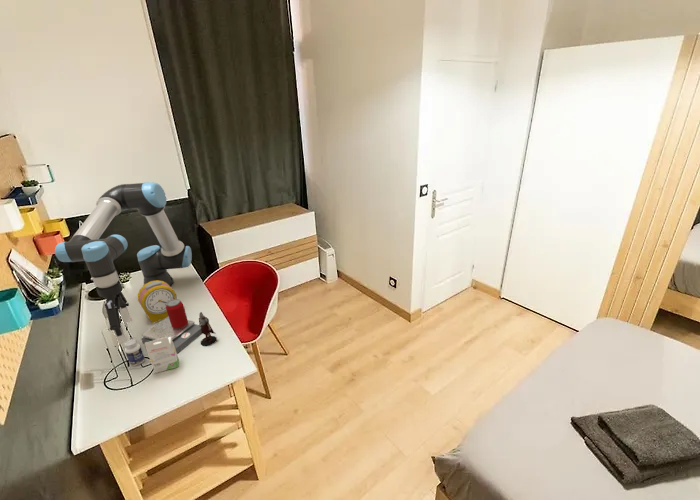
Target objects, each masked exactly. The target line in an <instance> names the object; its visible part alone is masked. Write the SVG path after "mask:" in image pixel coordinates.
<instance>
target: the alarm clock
mask: <svg viewBox="0 0 700 500" xmlns="http://www.w3.org/2000/svg"><path fill="white" fill-rule="evenodd" d="M143 285H144V284H143ZM173 299H177V294H176V292H175V290H174V289H173V288H172V286H171V287H170V286H169V285H168V284H167V283H165V282H164V281H159V280H156V281H150V282H148V283H146V284H145V285H144V286H141V287H140V289H139V290H138V294H137V301H138V303H139V304H140V306H141V308H142V309H143V312H145V314H146V317H148V319H149V321H150V322H151V324H154V323H157V322H161V321H162V320H164V319H165V318H167V317H168V313H167V310H166V306H167V302H169V301H170V300H173Z"/></svg>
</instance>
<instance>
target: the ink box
mask: <svg viewBox="0 0 700 500" xmlns="http://www.w3.org/2000/svg"><path fill="white" fill-rule="evenodd" d="M144 345H145V348H146V354H147V355H148V357H149V360H150V363H151V366H152V368H153V371H154V373H155V374H157V373H161V372H165V371H169V370H172V369H175V368H179V362H180V361H179V360H180V359H179V356H178V353H177V352H176V349H175V346H174V343H173V341H172V338H171V337H165V338H162V339H157V340H153V341H149V342H145V344H144Z"/></svg>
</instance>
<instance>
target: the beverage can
mask: <svg viewBox="0 0 700 500" xmlns="http://www.w3.org/2000/svg"><path fill="white" fill-rule="evenodd" d="M166 310H167V313H168V316H169V320H170V323H171V326H172V327H173V328H182V327H184V326H185V325H186V324H187V323H188V320H189V319H188V317H187V312H186V309H185V306H184V304H183V301H181V300H180V299H178V298H176V299H173V300H170V301H169V302H167V306H166Z"/></svg>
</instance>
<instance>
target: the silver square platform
mask: <svg viewBox="0 0 700 500" xmlns="http://www.w3.org/2000/svg"><path fill="white" fill-rule="evenodd" d="M187 320H188V323H187V324H186V325H185V326H184V327H182V328H173V327H172V326H171V323H170V320H169V316H168V317H167V318H165V319H162V320H160V321H159V322H158V323H156V324H155V325H154V326H152V327H151V328H149V329H148V330H146V331H144V333H142V334H141V338H143V337H145V338H149V339H152V340H157V339H162V338H165V337H171V338H172V340H174V339H175V338H176V337H177V336H179V335H180V334H181V333H183V332H184V331H185V330H186V329H188V328H189V327H190V326H192V325H193V324H195V321H194V320H189V319H187Z"/></svg>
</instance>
